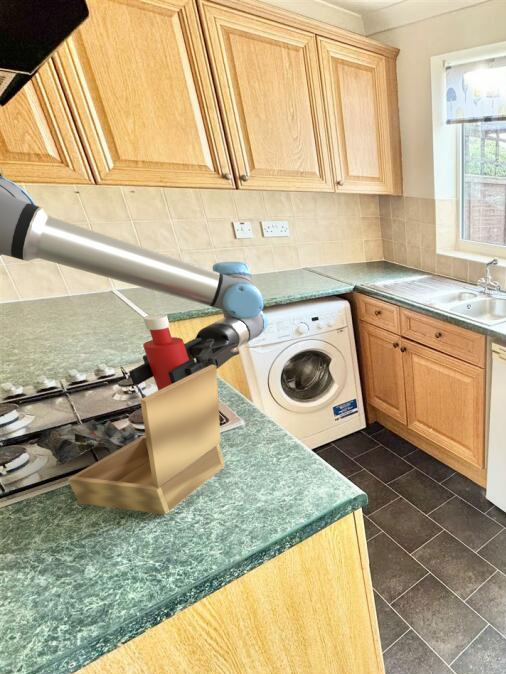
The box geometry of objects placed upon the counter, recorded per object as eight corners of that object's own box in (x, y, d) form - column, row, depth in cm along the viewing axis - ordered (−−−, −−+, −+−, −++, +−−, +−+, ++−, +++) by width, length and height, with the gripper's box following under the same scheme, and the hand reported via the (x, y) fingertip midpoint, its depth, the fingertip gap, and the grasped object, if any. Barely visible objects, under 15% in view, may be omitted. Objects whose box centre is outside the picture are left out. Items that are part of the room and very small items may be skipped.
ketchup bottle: (160, 421, 84) (125, 319, 75) (184, 407, 89) (154, 311, 80) (188, 424, 83) (156, 322, 74) (211, 410, 89) (183, 313, 80)
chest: (80, 506, 70) (67, 479, 68) (152, 460, 83) (143, 435, 80) (167, 517, 69) (156, 489, 67) (226, 468, 81) (219, 443, 79)
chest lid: (139, 399, 60) (145, 400, 60) (211, 364, 72) (216, 365, 72) (153, 487, 67) (158, 488, 67) (216, 441, 79) (221, 442, 79)
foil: (104, 467, 74) (32, 416, 74) (102, 498, 80) (35, 451, 79) (168, 431, 84) (105, 386, 83) (162, 461, 90) (103, 419, 89)
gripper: (268, 354, 100) (212, 397, 79) (184, 351, 99) (104, 395, 78) (261, 323, 97) (202, 361, 76) (175, 321, 96) (89, 358, 75)
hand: (153, 378), depth 77 cm, fingers closed on ketchup bottle, 6 cm apart
